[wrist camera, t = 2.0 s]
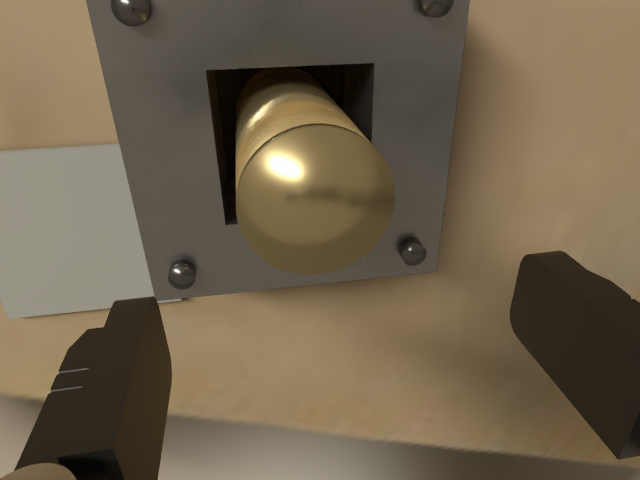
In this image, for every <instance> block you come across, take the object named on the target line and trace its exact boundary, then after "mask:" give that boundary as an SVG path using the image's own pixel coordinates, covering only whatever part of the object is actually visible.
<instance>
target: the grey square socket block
mask: <svg viewBox="0 0 640 480" xmlns="http://www.w3.org/2000/svg"><path fill="white" fill-rule="evenodd" d="M86 2H87V6H88V11H89V15H90V19H91V24H92V28H93V32H94V37H95V41H96V45H97V50H98V54H99V58H100V63H101V67H102V71H103V76H104V80H105V84H106V89H107V93H108V97H109V102H110V106H111V110H112V114H113V119H114V123H115V127H116V132H117V136H118V140H119V145H120V149H121V153H122V158H123V162H124V166H125V171H126V175H127V179H128V184H129V188H130V192H131V197H132V201H133V205H134V210H135V214H136V218H137V223H138V227H139V231H140V236H141V240H142V244H143V249H144V253H145V257H146V262H147V266H148V270H149V275H150V279H151V283H152V288H153V292H154V296H155V298H156V300H157V301H163V300H173V299H182V298H192V297H201V296H211V295H220V294H230V293H239V292H249V291H258V290H268V289H277V288H287V287H296V286H306V285H315V284H325V283H334V282H343V281H353V280H362V279H372V278H381V277H391V276H400V275H410V274H419V273H429V272H436V270H437V262H438V254H439V246H440V237H441V229H442V221H443V213H444V205H445V197H446V189H447V181H448V173H449V164H450V156H451V148H452V140H453V132H454V124H455V116H456V108H457V99H458V91H459V83H460V75H461V67H462V59H463V51H464V43H465V34H466V26H467V18H468V10H469V2H470V0H86ZM337 64H344V81H343V112H344V113H345V114H346V115H347V116H348V117H349V119H350V120H351V121H352V122H353V123H354V124H355V125H356V127H357V128H358V129H359V130H360V131H361V132H362V133H363V135H364V136H365V137H366V138H367V139H368V140H369V141H370V143H371V144H372V145H373V146H374V147H375V148H376V149H377V151H378V152H379V153H380V154H381V155H382V157H383V158H384V160H385V161H386V163H387V165H388V167H389V169H390V171H391V174H392V177H393V181H394V187H395V205H394V211H393V215H392V218H391V221H390V223H389V226H388V228H387V230H386V231H385V233H384V235H383V237H382V238H381V239H380V241H379V242H378V243H377V244H376V245H375V247H374V248H373V249H372V250H371V251H370V252H368V253H367V254H366V255H365V256H364V257H362V258H361V259H359V260H358V261H356V262H355V263H353V264H351V265H349V266H347V267H345V268H342V269H340V270H337V271H333V272H330V273H324V274H315V275H305V274H296V273H291V272H287V271H284V270H281V269H279V268H277V267H274V266H272V265H271V264H269V263H267V262H266V261H264V260H263V259H262V258H261V257H259V256H258V255H257V254H256V253H255V252H254V251H253V250H252V249H251V247H250V246H249V245H248V243H247V242H246V240H245V238H244V236H243V235H242V233H241V230H240V227H239V224H238V220H237V215H236V177H228V178H227V170H226V162H225V154H224V145H223V137H222V129H221V120H220V112H219V104H218V95H217V87H216V79H215V71H214V70H219V69H242V68H266V67H290V66H313V65H337Z"/></svg>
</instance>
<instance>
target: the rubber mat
mask: <svg viewBox="0 0 640 480" xmlns="http://www.w3.org/2000/svg"><path fill="white" fill-rule="evenodd" d="M151 296H154V292H153V288H152V283H151V279H150V275H149V270H148V266H147V262H146V257H145V253H144V249H143V244H142V240H141V236H140V231H139V227H138V223H137V218H136V214H135V210H134V205H133V201H132V197H131V192H130V188H129V184H128V179H127V175H126V171H125V166H124V162H123V158H122V153H121V149H120V145H119V144H103V145H87V146H71V147H54V148H38V149H22V150H5V151H0V301H1V303H2V306H3V308H4V310H5V313H6V315H7V317H8V319H13V318H23V317H32V316H41V315H51V314H60V313H70V312H79V311H88V310H98V309H107V308H111V307H112V305H113V303H114V301H116V300H125V299H133V298H142V297H151ZM154 297H155V296H154ZM173 301H181V299H173V300H163V301H157V302H158V303H164V302H173Z"/></svg>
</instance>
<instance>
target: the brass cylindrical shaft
mask: <svg viewBox="0 0 640 480" xmlns="http://www.w3.org/2000/svg"><path fill="white" fill-rule="evenodd" d="M235 129H236V215H237V220H238V224H239V227H240V230H241V233H242V235H243V236H244V238H245V240H246V242H247V243H248V245H249V246H250V247H251V249H252V250H253V251H254V252H255V253H256V254H257V255H258V256H259V257H261V258H262V259H263V260H264V261H266V262H267V263H269V264H271V265H272V266H274V267H277V268H279V269H281V270H284V271H287V272H291V273H296V274H305V275H315V274H324V273H330V272H333V271H337V270H340V269H342V268H345V267H347V266H349V265H351V264H353V263H355V262H356V261H358V260H359V259H361V258H362V257H364V256H365V255H366V254H367V253H368V252H370V251H371V250H372V249H373V248H374V247H375V245H376V244H377V243H378V242H379V241H380V239H381V238H382V237H383V235H384V233H385V231H386V230H387V228H388V226H389V223H390V221H391V218H392V215H393V211H394V205H395V187H394V181H393V177H392V174H391V171H390V169H389V167H388V165H387V163H386V161H385V160H384V158H383V157H382V155H381V154H380V153H379V152H378V151H377V149H376V148H375V147H374V146H373V145H372V144H371V143H370V141H369V140H368V139H367V138H366V137H365V136H364V135H363V133H362V132H361V131H360V130H359V129H358V128H357V127H356V125H355V124H354V123H353V122H352V121H351V120H350V119H349V117H348V116H347V115H346V114H345V113H344V112H343V111H342V109H341V108H340V107H339V106H338V105H337V104H336V103H335V101H334V100H333V99H332V98H331V97H330V96H329V95H328V93H327V92H326V91H325V90H324V89H323V88H322V87H321V85H320V84H319V83H318V82H317V81H316V80H315V79H314V78H313V77H312V76H311V75H309V74H308V73H306V72H305V71H303V70H301V69H298V68H295V67H291V66H290V67H269V68H266V69H263V70H261V71H259V72H258V73H256V74H255V75H253V76H252V77H251V78H250V79H249V80H248V81H247V82H246V83H245V85H244V86H243V88H242V89H241V91H240V93H239V96H238V99H237V103H236V110H235Z"/></svg>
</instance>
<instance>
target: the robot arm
mask: <svg viewBox="0 0 640 480" xmlns="http://www.w3.org/2000/svg"><path fill="white" fill-rule="evenodd" d="M510 321H511V325H512V328H513V331H514V333H515V335H516V336H517V338H518V339H519V340H520V341H521V343H522V344H523V345H524V346H525V347H526V349H527V350H528V351H529V352H530V353H531V355H532V356H533V357H534V358H535V360H536V361H537V362H538V363H539V364H540V366H541V367H542V368H543V369H544V370H545V372H546V373H547V374H548V375H549V376H550V378H551V379H552V380H553V381H554V383H555V384H556V385H557V386H558V387H559V389H560V390H561V391H562V392H563V393H564V395H565V396H566V397H567V398H568V400H569V401H570V402H571V403H572V404H573V406H574V407H575V408H576V409H577V410H578V412H579V413H580V414H581V415H582V416H583V418H584V419H585V420H586V421H587V423H588V424H589V425H590V426H591V427H592V429H593V430H594V431H595V432H596V433H597V435H598V436H599V437H600V438H601V439H602V441H603V442H604V443H605V444H606V446H607V447H608V448H609V449H610V450H611V452H612V453H613V454H614V455H615V456H616V458H617V459H618V460H619V459H624V458H629V457H635V456H640V303H639V302H638V301H636V300H635V299H631V296H630V295H629V294H627V293H626V292H625V291H623V290H622V289H621V288H619V287H618V286H617V285H615V284H614V283H613V282H612V281H610V280H607V279H605V278H603V277H601V276H599V275H597V274H595V273H592V272H590V271H588V270H587V269H585V268H584V267H583V266H582V265H580V264H579V263H578V262H577V261H575V260H574V259H573V258H571V257H570V256H569V255H568V254H566V253H565V252H562V251H553V252H544V253H535V254H528V255H526V256H524V257H523V259H522V261H521V263H520V267H519V272H518V276H517V281H516V285H515V290H514V295H513V299H512V304H511V308H510ZM171 381H172V368H171V358H170V352H169V348H168V344H167V340H166V335H165V331H164V327H163V323H162V318H161V314H160V310H159V306H158V302H157V300H156V298H155V297H154V296H151V297H142V298H133V299H125V300H116V301H114V303H113V305H112V307H111V310H110V313H109V315H108V318H107V321H106V323H105V326H104V327H103V328H94V329H88V330H87V331H86V332H85V333H84V334H83V335H82V336H81V337H80V338H79V339H78V340H77V341H76V342H75V343H74V344H73V345H72V346H71V347H70V348H69V349H68V351H67V353H66V355H65V358H64V360H63V362H62V364H61V367H60V369H59V375H57V376H56V378H55V380H54V382H53V385H52V387H51V393H50V394H48V396H47V398H46V400H45V403H44V405H43V407H42V409H41V412H40V414H39V416H38V419H37V421H36V423H35V425H34V428H33V430H32V432H31V434H30V436H29V439H28V441H27V443H26V445H25V448H24V450H23V452H22V454H21V457H20V459H19V461H18V463H17V466H16V468H15V470H14V471H13V472H11V473H9V474H7V475H5V476H4V477H2V478H0V480H157V479H158V472H159V466H160V459H161V452H162V444H163V438H164V430H165V424H166V417H167V410H168V404H169V397H170V390H171Z"/></svg>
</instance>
